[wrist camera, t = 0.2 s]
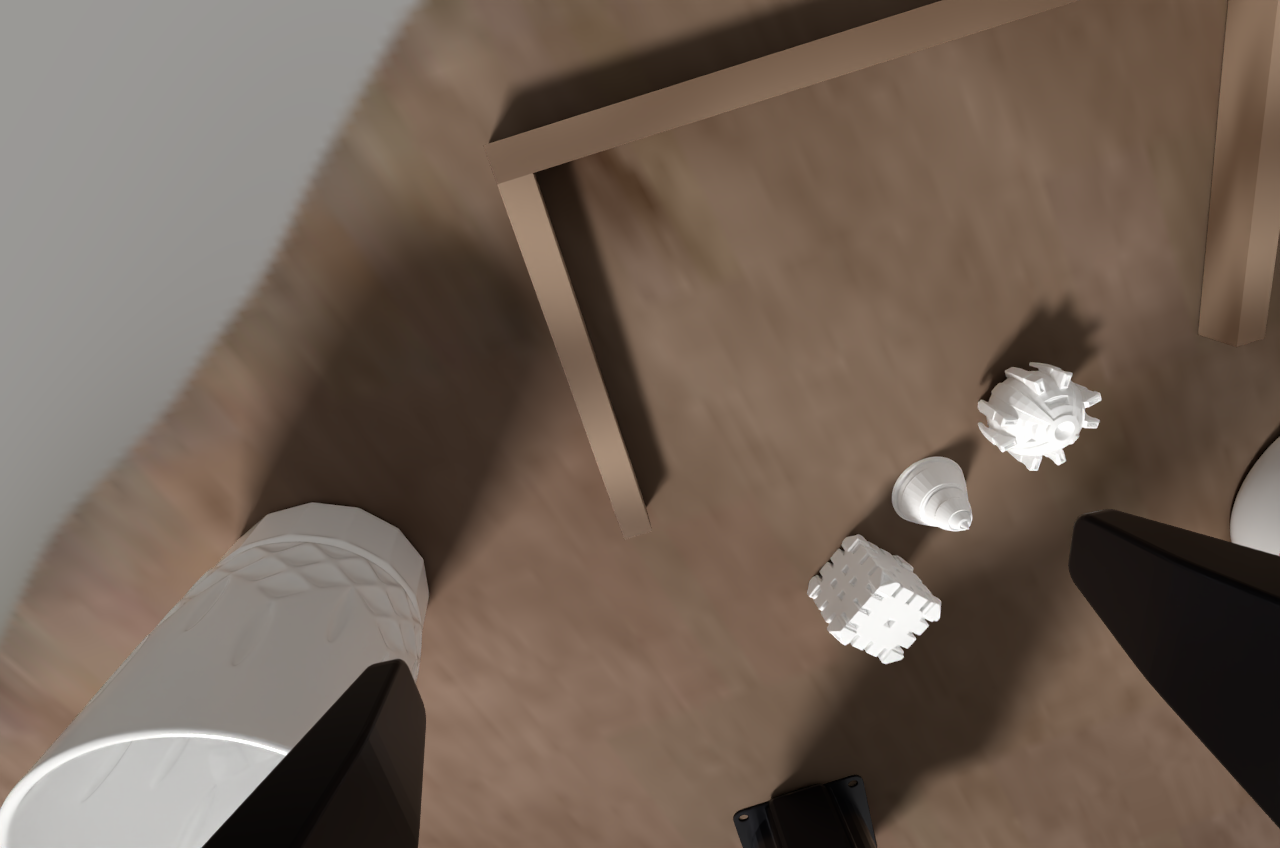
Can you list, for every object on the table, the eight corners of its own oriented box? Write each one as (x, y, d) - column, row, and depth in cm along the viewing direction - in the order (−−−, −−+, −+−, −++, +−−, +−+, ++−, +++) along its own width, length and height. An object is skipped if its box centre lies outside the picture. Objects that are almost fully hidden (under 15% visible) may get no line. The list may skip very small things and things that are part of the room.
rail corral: (1224, 326, 24) (1264, 338, 23) (620, 516, 24) (624, 539, 23) (1270, -104, 19) (1328, -122, 17) (487, 143, 19) (483, 145, 17)
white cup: (275, 688, 25) (124, 999, 16) (166, 520, 22) (-100, 794, 13) (475, 633, 26) (436, 912, 16) (397, 458, 22) (293, 687, 13)
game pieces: (859, 612, 28) (895, 669, 25) (799, 583, 27) (830, 638, 24) (1064, 380, 25) (1134, 414, 22) (1005, 335, 23) (1070, 365, 21)
